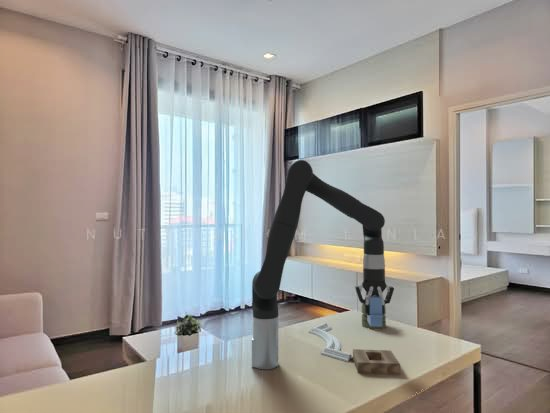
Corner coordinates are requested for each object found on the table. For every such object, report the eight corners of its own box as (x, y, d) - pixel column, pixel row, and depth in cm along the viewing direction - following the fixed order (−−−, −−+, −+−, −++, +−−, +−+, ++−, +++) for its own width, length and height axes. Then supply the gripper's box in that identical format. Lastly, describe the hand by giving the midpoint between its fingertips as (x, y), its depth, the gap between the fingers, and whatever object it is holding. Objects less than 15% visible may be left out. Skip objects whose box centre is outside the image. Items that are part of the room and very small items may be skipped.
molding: (358, 363, 126) (358, 355, 127) (325, 364, 125) (325, 356, 126) (330, 327, 169) (330, 321, 169) (305, 328, 168) (305, 322, 168)
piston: (360, 302, 167) (363, 297, 177) (360, 327, 166) (363, 321, 177) (384, 304, 163) (386, 299, 173) (385, 330, 162) (386, 324, 173)
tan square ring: (357, 372, 117) (357, 362, 117) (352, 358, 129) (352, 349, 129) (400, 374, 116) (400, 363, 116) (391, 360, 128) (391, 350, 128)
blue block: (371, 327, 119) (371, 298, 119) (366, 320, 128) (366, 293, 128) (383, 328, 118) (382, 298, 119) (377, 320, 127) (377, 293, 128)
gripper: (391, 265, 127) (392, 312, 126) (352, 265, 128) (352, 311, 128) (397, 268, 120) (397, 318, 119) (355, 268, 121) (355, 317, 120)
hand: (374, 314), depth 123 cm, fingers closed on blue block, 4 cm apart
